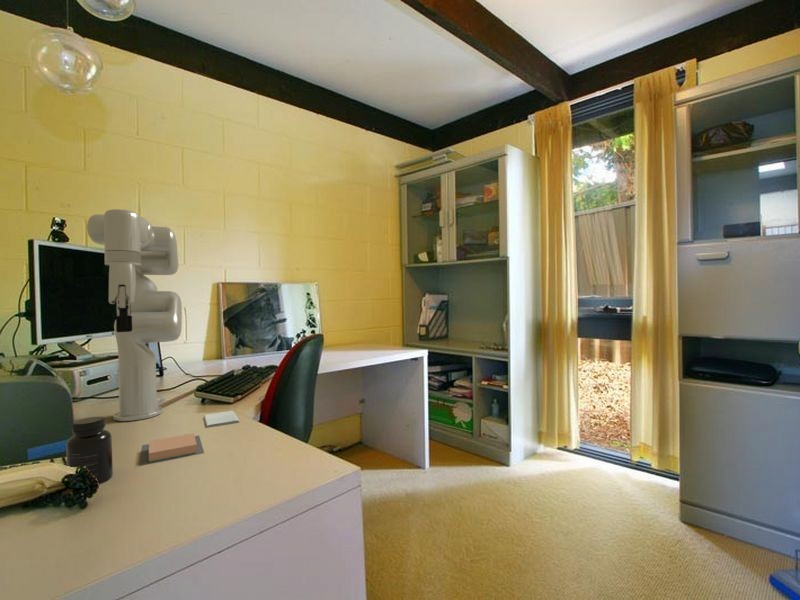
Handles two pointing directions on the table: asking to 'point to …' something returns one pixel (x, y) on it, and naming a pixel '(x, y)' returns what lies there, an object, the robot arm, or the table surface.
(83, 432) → the supplement bottle
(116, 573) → the table surface
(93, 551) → the table surface
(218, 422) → the hard drive
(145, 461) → the mat
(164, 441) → the tile
